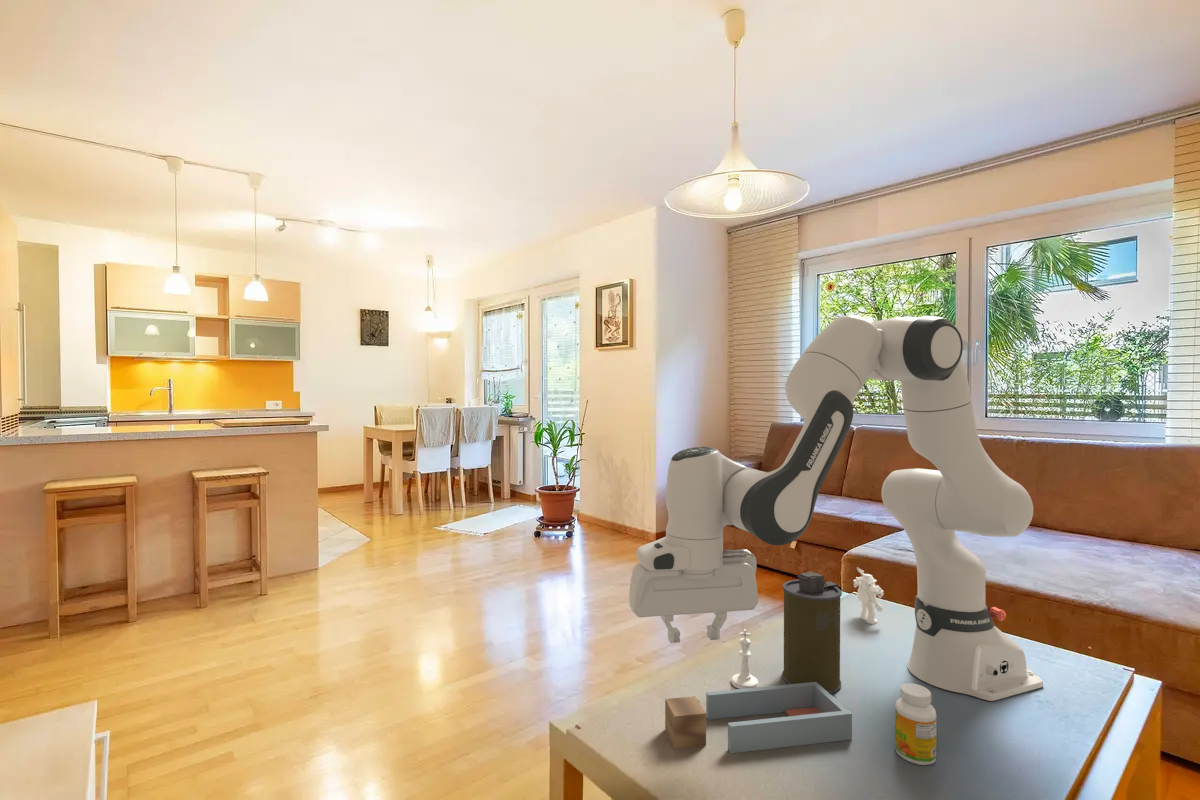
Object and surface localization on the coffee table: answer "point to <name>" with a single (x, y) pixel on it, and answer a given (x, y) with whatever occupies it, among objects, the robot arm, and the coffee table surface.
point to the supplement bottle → (915, 725)
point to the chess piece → (744, 667)
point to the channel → (807, 720)
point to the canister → (812, 631)
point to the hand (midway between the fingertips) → (693, 639)
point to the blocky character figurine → (868, 596)
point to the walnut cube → (685, 722)
